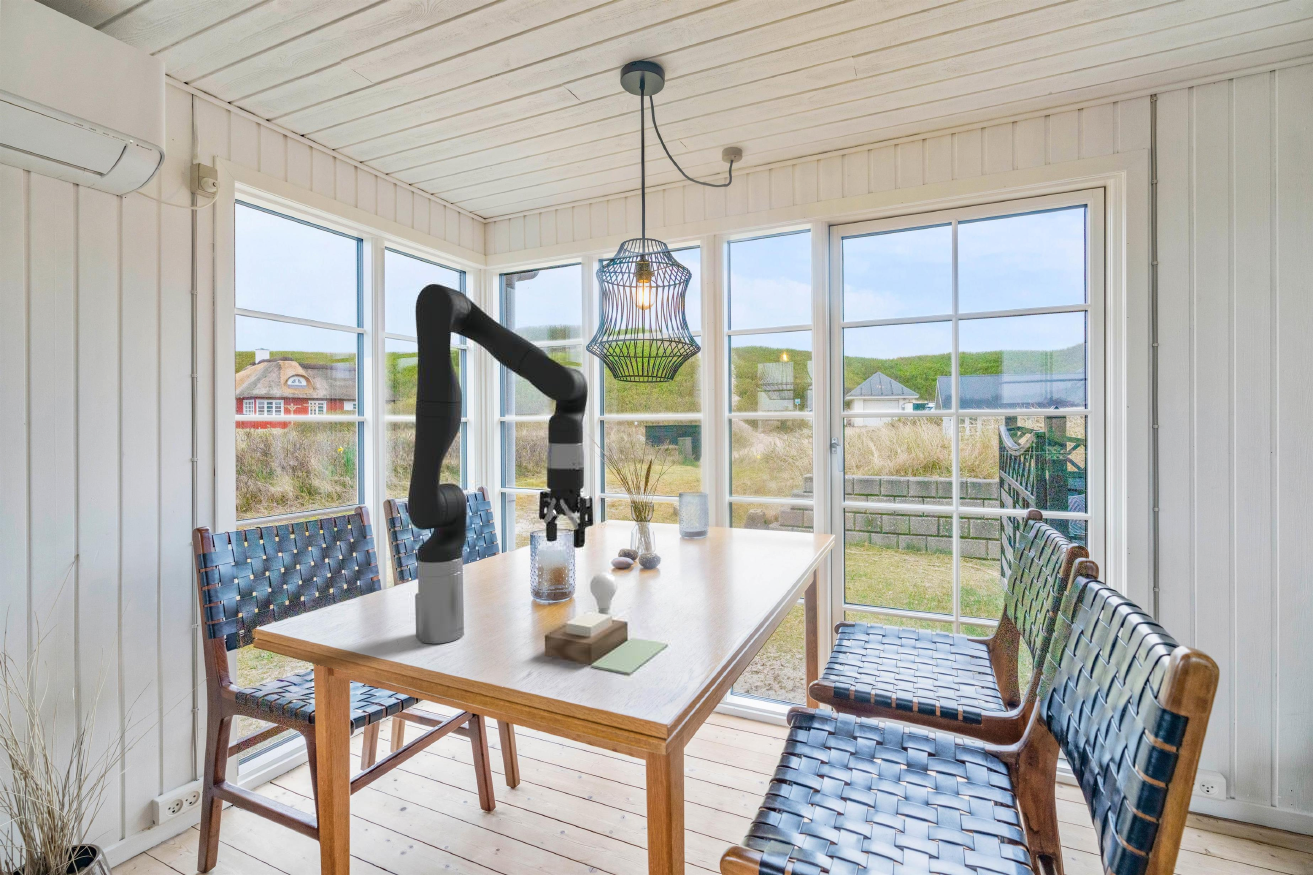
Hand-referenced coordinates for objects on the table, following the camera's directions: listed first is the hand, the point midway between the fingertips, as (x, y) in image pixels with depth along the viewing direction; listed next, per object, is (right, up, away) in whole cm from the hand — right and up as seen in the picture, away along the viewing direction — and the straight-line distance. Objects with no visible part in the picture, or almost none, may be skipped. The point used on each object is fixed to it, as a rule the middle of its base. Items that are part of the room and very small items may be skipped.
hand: (565, 544), depth 124 cm
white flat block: (+5, -17, 0) cm, 18 cm away
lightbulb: (+6, -21, +18) cm, 29 cm away
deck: (+5, -21, 0) cm, 22 cm away
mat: (+14, -21, -4) cm, 26 cm away
